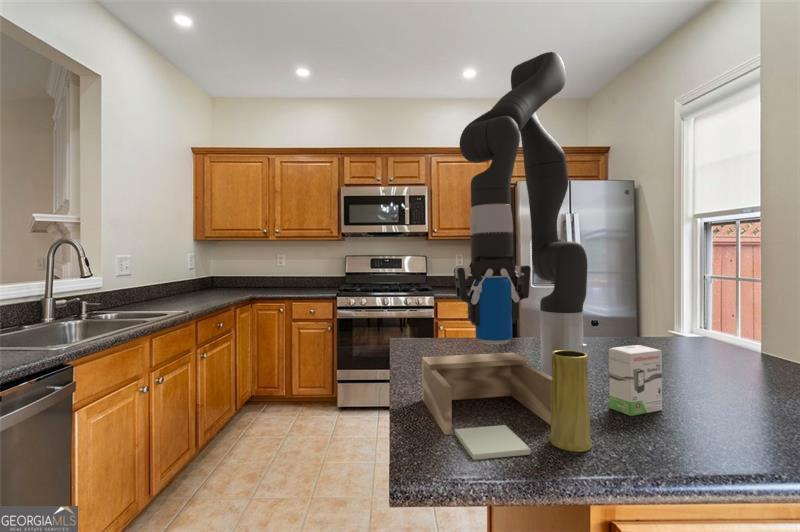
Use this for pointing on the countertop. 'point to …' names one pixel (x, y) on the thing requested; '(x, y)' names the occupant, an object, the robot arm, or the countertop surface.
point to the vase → (570, 401)
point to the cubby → (483, 383)
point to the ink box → (635, 379)
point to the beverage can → (495, 310)
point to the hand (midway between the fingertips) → (493, 323)
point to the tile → (491, 442)
